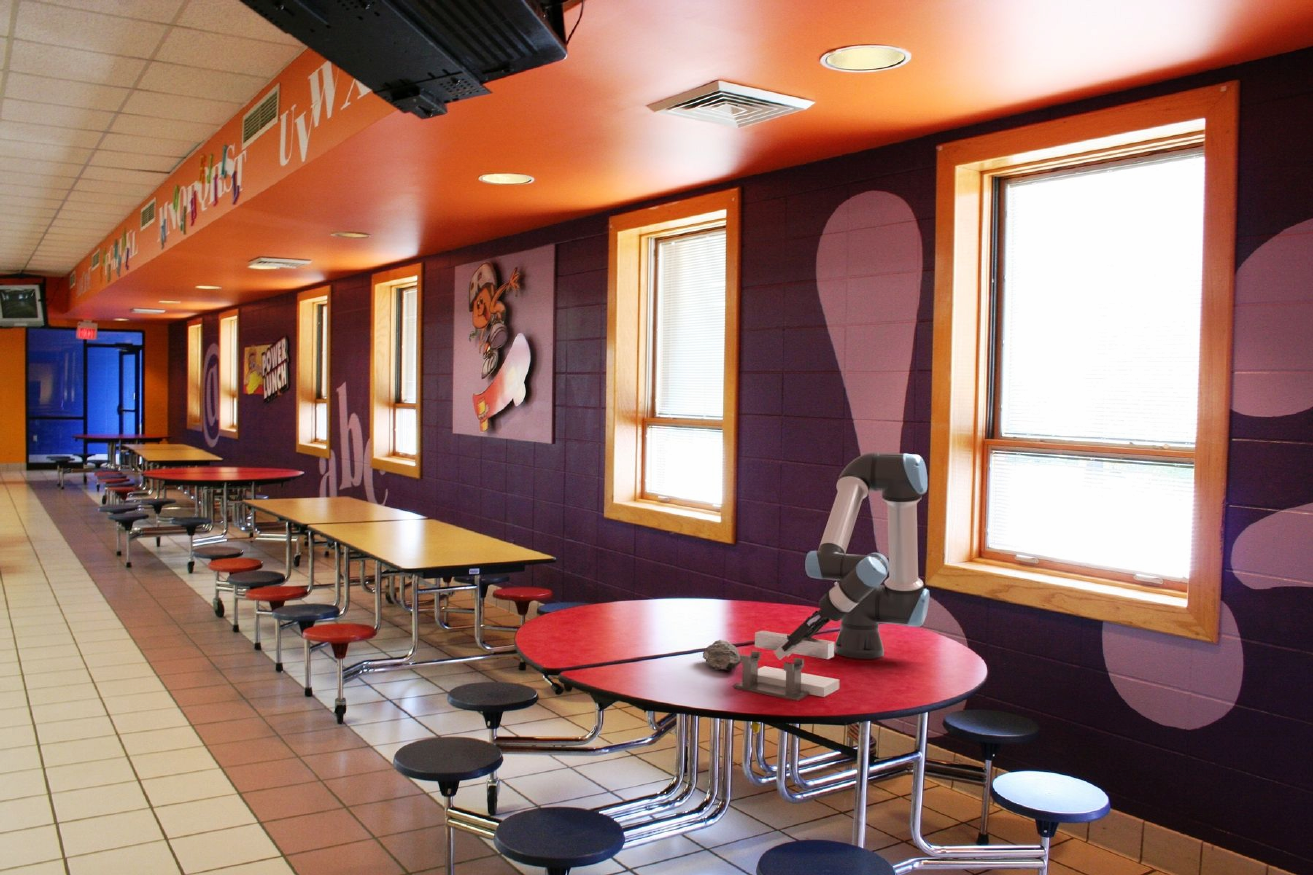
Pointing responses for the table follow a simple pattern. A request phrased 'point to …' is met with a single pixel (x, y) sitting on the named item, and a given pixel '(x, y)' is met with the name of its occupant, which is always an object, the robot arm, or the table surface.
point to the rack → (752, 685)
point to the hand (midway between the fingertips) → (781, 654)
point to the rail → (802, 647)
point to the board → (808, 681)
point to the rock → (722, 655)
